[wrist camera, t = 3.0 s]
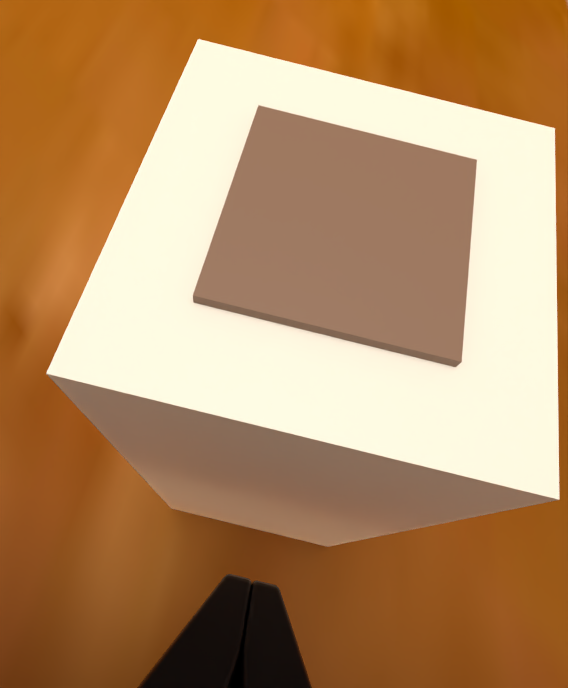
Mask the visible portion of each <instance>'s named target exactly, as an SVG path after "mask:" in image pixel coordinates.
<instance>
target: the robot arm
mask: <svg viewBox="0 0 568 688" xmlns="http://www.w3.org/2000/svg"><path fill="white" fill-rule="evenodd" d="M138 688H312V687H311V684H310V681H309V678H308V674H307V671H306V668H305V665H304V662H303V659H302V656H301V653H300V650H299V647H298V644H297V641H296V638H295V635H294V632H293V629H292V626H291V623H290V620H289V617H288V614H287V611H286V608H285V604H284V601H283V598H282V595H281V592H280V590H279V588H278V587H277V586H276V585H273V584H269V583H265V582H261V581H254V582H253V583H252V585H251V580H250V579H248V578H244V577H240V576H236V575H232V574H228V575H226V576H225V577H224V578H223V579H222V580H221V582H220V583H219V584H218V585H217V587H216V588H215V589H214V591H213V592H212V593H211V594H210V596H209V597H208V598H207V599H206V601H205V602H204V603H203V605H202V606H201V607H200V608H199V610H198V611H197V612H196V614H195V615H194V616H193V617H192V619H191V620H190V621H189V622H188V624H187V625H186V626H185V628H184V629H183V630H182V631H181V633H180V634H179V635H178V636H177V638H176V639H175V640H174V642H173V643H172V644H171V645H170V647H169V648H168V649H167V651H166V652H165V653H164V654H163V656H162V657H161V658H160V659H159V661H158V662H157V663H156V665H155V666H154V667H153V668H152V670H151V671H150V672H149V674H148V675H147V676H146V677H145V679H144V680H143V681H142V682H141V684H140V685H139V686H138Z"/></svg>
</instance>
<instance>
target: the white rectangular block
mask: <svg viewBox="0 0 568 688" xmlns="http://www.w3.org/2000/svg"><path fill="white" fill-rule="evenodd" d="M46 374H47V375H48V376H49V377H50V378H51V379H52V380H53V381H54V382H55V384H56V385H57V386H58V387H59V388H60V389H61V390H62V391H63V392H64V393H65V394H66V395H67V396H68V398H69V399H70V400H71V401H72V402H73V403H74V404H75V405H76V406H77V407H78V408H79V409H80V411H81V412H82V413H83V414H84V415H85V416H86V417H87V418H88V419H89V420H90V421H91V422H92V424H93V425H94V426H95V427H96V428H97V429H98V430H99V431H100V432H101V433H102V434H103V435H104V436H105V438H106V439H107V440H108V441H109V442H110V443H111V444H112V445H113V446H114V447H115V448H116V449H117V451H118V452H119V453H120V454H121V455H122V456H123V457H124V458H125V459H126V460H127V461H128V462H129V463H130V465H131V466H132V467H133V468H134V469H135V470H136V471H137V472H138V473H139V474H140V475H141V476H142V478H143V479H144V480H145V481H146V482H147V483H148V484H149V485H150V486H151V487H152V488H153V489H154V491H155V492H156V493H157V494H158V495H159V496H160V497H161V498H162V499H163V500H164V501H165V502H166V503H167V505H168V506H169V507H170V508H171V509H175V510H179V511H183V512H187V513H191V514H195V515H199V516H204V517H208V518H212V519H216V520H220V521H224V522H228V523H232V524H236V525H240V526H244V527H249V528H253V529H257V530H261V531H265V532H269V533H273V534H277V535H281V536H285V537H289V538H293V539H298V540H302V541H306V542H310V543H314V544H318V545H322V546H326V547H329V546H333V545H338V544H343V543H348V542H353V541H358V540H363V539H368V538H373V537H378V536H383V535H388V534H393V533H397V532H402V531H407V530H412V529H417V528H422V527H427V526H432V525H437V524H442V523H447V522H452V521H457V520H462V519H466V518H471V517H476V516H481V515H486V514H491V513H496V512H501V511H506V510H511V509H516V508H521V507H526V506H530V505H535V504H540V503H545V502H550V501H555V500H559V438H558V356H557V275H556V193H555V128H551V127H547V126H543V125H539V124H535V123H531V122H527V121H523V120H519V119H515V118H511V117H507V116H503V115H499V114H495V113H491V112H487V111H483V110H479V109H475V108H471V107H467V106H463V105H459V104H455V103H451V102H447V101H443V100H439V99H435V98H431V97H427V96H423V95H419V94H415V93H411V92H407V91H403V90H399V89H395V88H391V87H387V86H383V85H379V84H375V83H371V82H367V81H363V80H359V79H355V78H351V77H347V76H343V75H339V74H335V73H331V72H327V71H323V70H320V69H316V68H312V67H308V66H304V65H300V64H296V63H292V62H288V61H284V60H280V59H276V58H272V57H268V56H264V55H260V54H256V53H252V52H248V51H244V50H240V49H236V48H232V47H228V46H224V45H220V44H216V43H212V42H208V41H204V40H200V39H198V41H197V43H196V45H195V47H194V49H193V52H192V54H191V56H190V58H189V60H188V63H187V65H186V67H185V69H184V71H183V74H182V76H181V78H180V80H179V82H178V85H177V87H176V89H175V91H174V93H173V96H172V98H171V100H170V102H169V104H168V107H167V109H166V111H165V113H164V115H163V118H162V120H161V122H160V124H159V126H158V129H157V131H156V133H155V135H154V137H153V140H152V142H151V144H150V146H149V148H148V151H147V153H146V155H145V157H144V159H143V162H142V164H141V166H140V168H139V170H138V173H137V175H136V177H135V179H134V181H133V184H132V186H131V188H130V190H129V193H128V195H127V197H126V199H125V201H124V204H123V206H122V208H121V210H120V212H119V215H118V217H117V219H116V221H115V223H114V226H113V228H112V230H111V232H110V234H109V237H108V239H107V241H106V243H105V245H104V248H103V250H102V252H101V254H100V256H99V259H98V261H97V263H96V265H95V267H94V270H93V272H92V274H91V276H90V278H89V281H88V283H87V285H86V287H85V289H84V292H83V294H82V296H81V298H80V300H79V303H78V305H77V307H76V309H75V311H74V314H73V316H72V318H71V320H70V322H69V325H68V327H67V329H66V331H65V333H64V336H63V338H62V340H61V342H60V344H59V347H58V349H57V351H56V353H55V355H54V358H53V360H52V362H51V364H50V366H49V369H48V371H47V373H46Z"/></svg>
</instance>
